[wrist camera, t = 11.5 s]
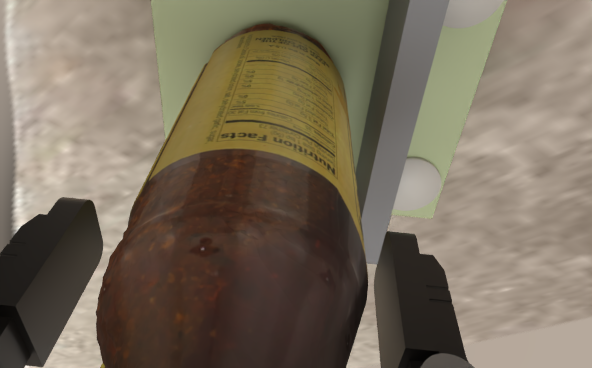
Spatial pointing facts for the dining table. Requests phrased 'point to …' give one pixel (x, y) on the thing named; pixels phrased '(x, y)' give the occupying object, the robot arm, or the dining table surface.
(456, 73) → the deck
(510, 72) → the dining table surface
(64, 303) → the robot arm
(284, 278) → the sauce bottle
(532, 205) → the dining table surface
